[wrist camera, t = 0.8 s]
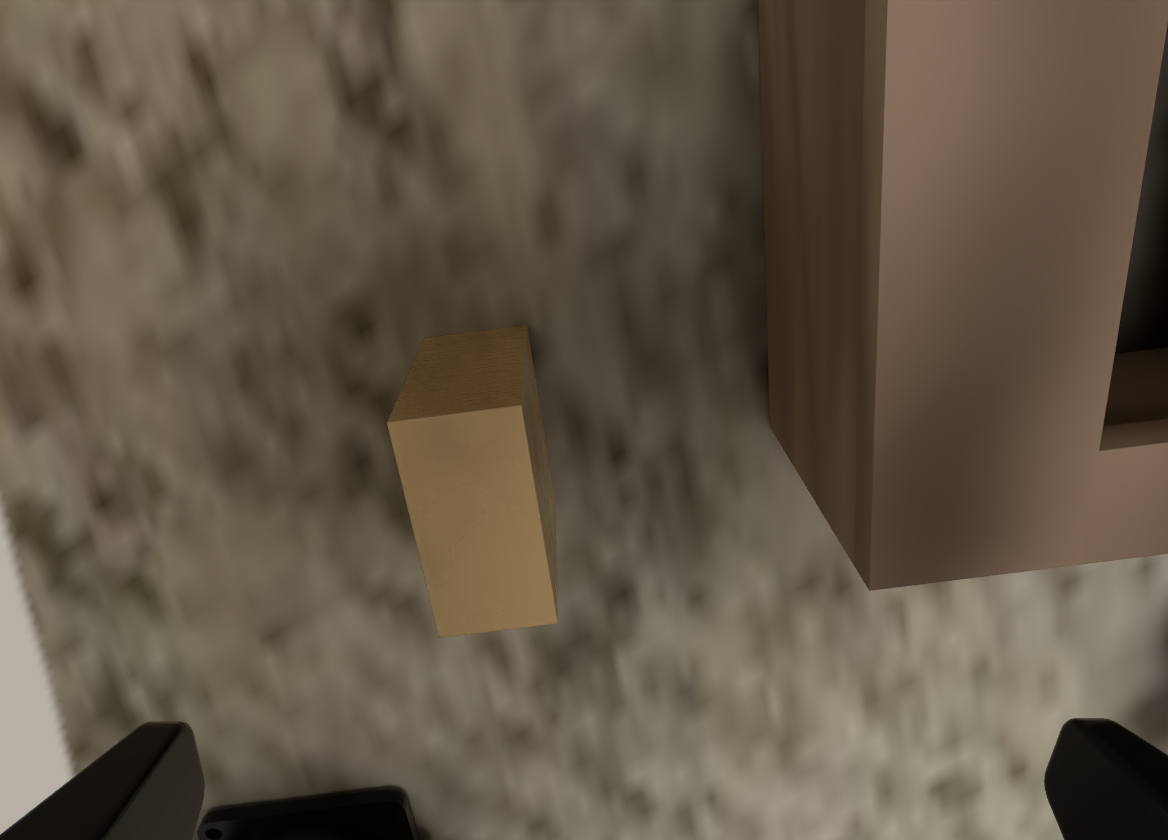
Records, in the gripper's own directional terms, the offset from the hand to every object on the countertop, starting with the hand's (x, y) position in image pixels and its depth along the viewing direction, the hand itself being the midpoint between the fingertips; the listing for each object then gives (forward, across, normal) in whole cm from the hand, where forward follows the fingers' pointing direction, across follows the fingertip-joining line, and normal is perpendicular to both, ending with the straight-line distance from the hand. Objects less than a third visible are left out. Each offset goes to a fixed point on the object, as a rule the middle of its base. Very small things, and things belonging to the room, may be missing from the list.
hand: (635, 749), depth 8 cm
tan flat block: (+12, +2, +2) cm, 13 cm away
